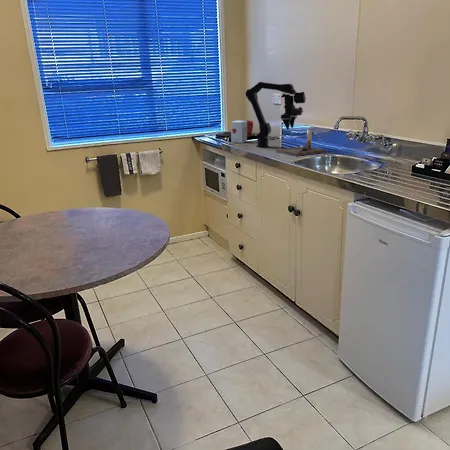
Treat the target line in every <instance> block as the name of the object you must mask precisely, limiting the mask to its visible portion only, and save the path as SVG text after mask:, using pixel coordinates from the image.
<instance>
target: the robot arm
mask: <svg viewBox="0 0 450 450" xmlns="http://www.w3.org/2000/svg"><path fill="white" fill-rule="evenodd" d="M262 89H265V90H266V89H267V90H274V91H279V92H282V95H281V96H280V97H281V98H284V106H283V108H284V113H282V114H281V115H280V119H281V121H282V122H283V125H284V126H285V128H286V130H290V128H291V129H294V125H295V121H296V119H297V118H298V116H302V114H303V113H304V110H303V107H301V106H299V107H296V106H295V104H306V94H305V91H301V92H297V91H296V90H295V87H294V85H293V84H292V83H281V84H280V83H274V82H273V83H270V82H263V81H258V82H257V83H256V84H255V85H254V86H252V87H251V88H248V89H247V90H246V91H245V97H246V98H247V100H248V101H249V103H250V104H251V107H252V109H253V112H254V114H255V116H256V119H257V123H258V127H259V132H258V133H257V135H256V138H257V145H256V147H258V148H269V139H268V137H269V135H270V134H272V133H271V132H272V127H271V124H270V122H267V121H266V119H265V117H264V113H263V112H262V109H261V106H260V104H259V101H258V100H259V97H258V93H259V92H260V91H262Z"/></svg>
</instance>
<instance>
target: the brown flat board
mask: <svg viewBox="0 0 450 450" xmlns="http://www.w3.org/2000/svg"><path fill="white" fill-rule="evenodd" d="M297 150H300V146H297V147H296V146H295V147H289V148H280V149H276V153H279V154H283V155H288V156H293V157H300V156H306V155H307V156H308V155H315V154H322V153H325V149H321V148H315V147H311V148H307V150H301V151H299V152H298V151H297Z"/></svg>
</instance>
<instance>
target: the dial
mask: <svg viewBox="0 0 450 450" xmlns="http://www.w3.org/2000/svg"><path fill="white" fill-rule="evenodd" d="M312 135H313V129H306V143H305V144H306V145H300V146H299V147H300V150H297V151H298V152H299V151H301V150H307V148H312V138H313V137H312Z"/></svg>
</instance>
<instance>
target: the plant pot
mask: <svg viewBox="0 0 450 450" xmlns="http://www.w3.org/2000/svg"><path fill="white" fill-rule="evenodd" d="M244 121H247V138H250V137H252V135H253V133H252V132H253V129H254V121H253V120H246V119H245V120H244Z"/></svg>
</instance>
